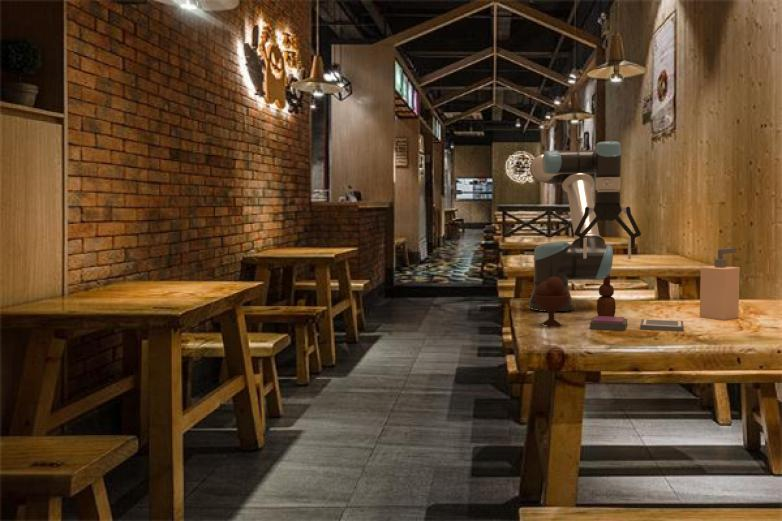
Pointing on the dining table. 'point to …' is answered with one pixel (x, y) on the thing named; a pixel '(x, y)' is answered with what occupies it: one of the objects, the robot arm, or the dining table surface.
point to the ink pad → (608, 323)
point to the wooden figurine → (606, 299)
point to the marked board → (662, 325)
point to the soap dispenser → (720, 289)
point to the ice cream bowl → (551, 298)
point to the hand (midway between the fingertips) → (607, 258)
